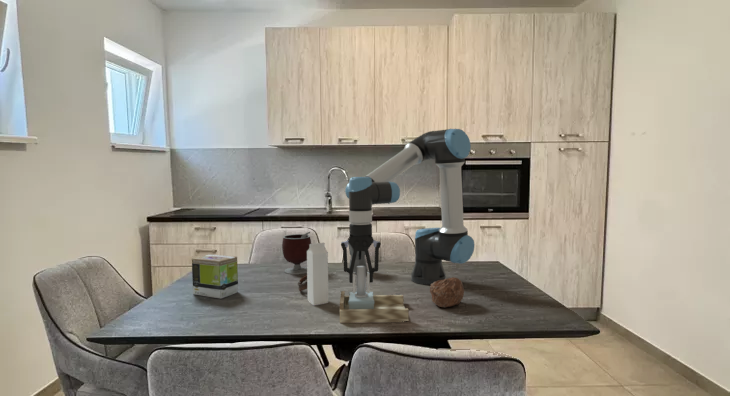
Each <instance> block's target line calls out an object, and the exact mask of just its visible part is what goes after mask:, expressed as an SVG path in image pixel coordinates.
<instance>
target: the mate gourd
mask: <svg viewBox="0 0 730 396" xmlns="http://www.w3.org/2000/svg"><path fill="white" fill-rule="evenodd" d="M310 234H311V232H310V231H307V232H305V233H304V234H303V233H301V234H300V233H295V234H285V235H284V236H282V242H281V243H282V244H281V248H282V249H281V250H282V255H283V258H284V260H286V262H288V263H291V264H294V265H293V267H288V268H285V269H284V273H285V274H287V275H293V276H294V275H305V274H307V266H301V264H303V263H305V262H307V250H308V249H309V245H310V244H312V239H311V235H310Z"/></svg>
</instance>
